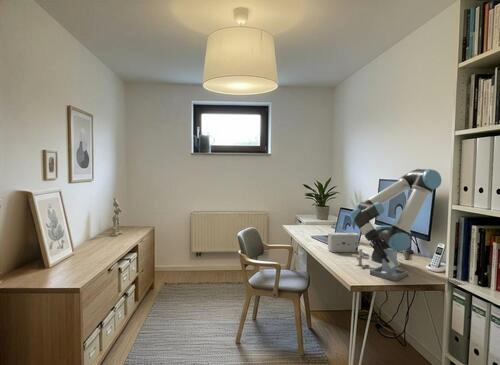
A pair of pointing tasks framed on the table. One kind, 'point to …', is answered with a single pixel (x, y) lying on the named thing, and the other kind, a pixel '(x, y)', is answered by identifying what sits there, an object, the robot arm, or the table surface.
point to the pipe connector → (360, 256)
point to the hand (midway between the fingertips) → (395, 266)
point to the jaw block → (393, 256)
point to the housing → (389, 274)
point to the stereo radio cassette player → (343, 242)
